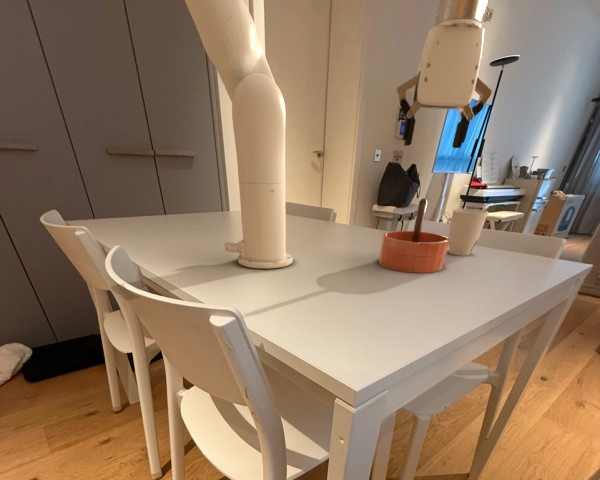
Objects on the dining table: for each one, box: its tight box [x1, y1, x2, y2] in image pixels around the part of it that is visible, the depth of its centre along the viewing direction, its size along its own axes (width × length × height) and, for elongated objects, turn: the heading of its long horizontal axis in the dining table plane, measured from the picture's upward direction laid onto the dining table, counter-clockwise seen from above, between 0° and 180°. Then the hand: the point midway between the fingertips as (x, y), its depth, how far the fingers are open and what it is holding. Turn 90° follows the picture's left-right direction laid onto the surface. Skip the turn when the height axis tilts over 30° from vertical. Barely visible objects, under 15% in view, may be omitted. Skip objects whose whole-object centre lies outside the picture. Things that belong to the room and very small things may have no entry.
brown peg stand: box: [412, 197, 428, 242], centre depth 75 cm, size 5×5×13 cm
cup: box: [448, 208, 489, 257], centre depth 86 cm, size 8×8×10 cm
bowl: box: [378, 230, 449, 274], centre depth 77 cm, size 14×14×6 cm
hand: (431, 146), depth 66 cm, fingers open, 9 cm apart
